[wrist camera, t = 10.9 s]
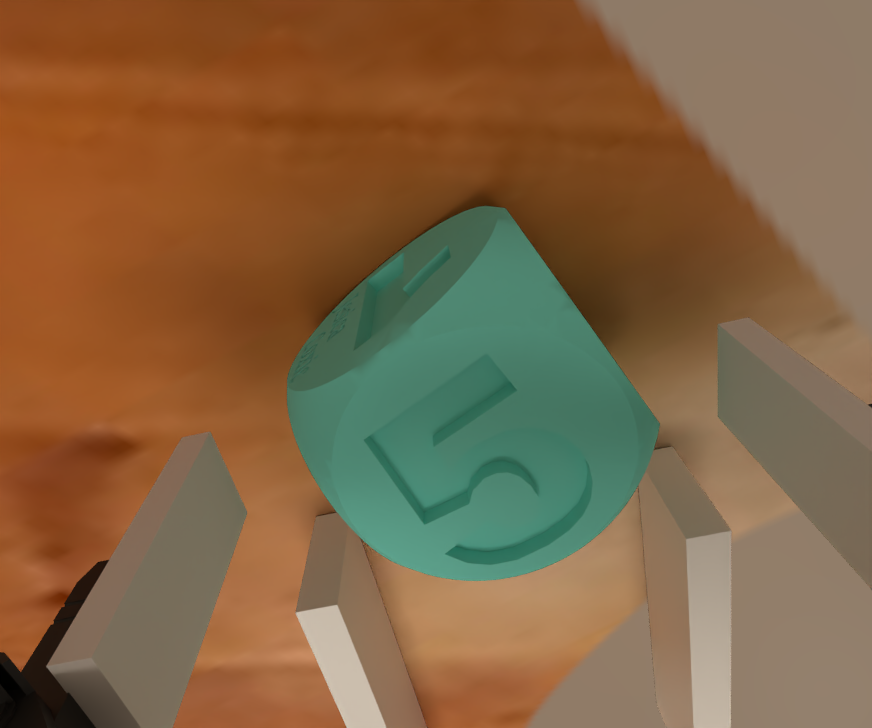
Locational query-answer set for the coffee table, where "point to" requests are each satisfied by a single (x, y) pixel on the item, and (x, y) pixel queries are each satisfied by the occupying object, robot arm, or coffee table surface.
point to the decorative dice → (468, 408)
